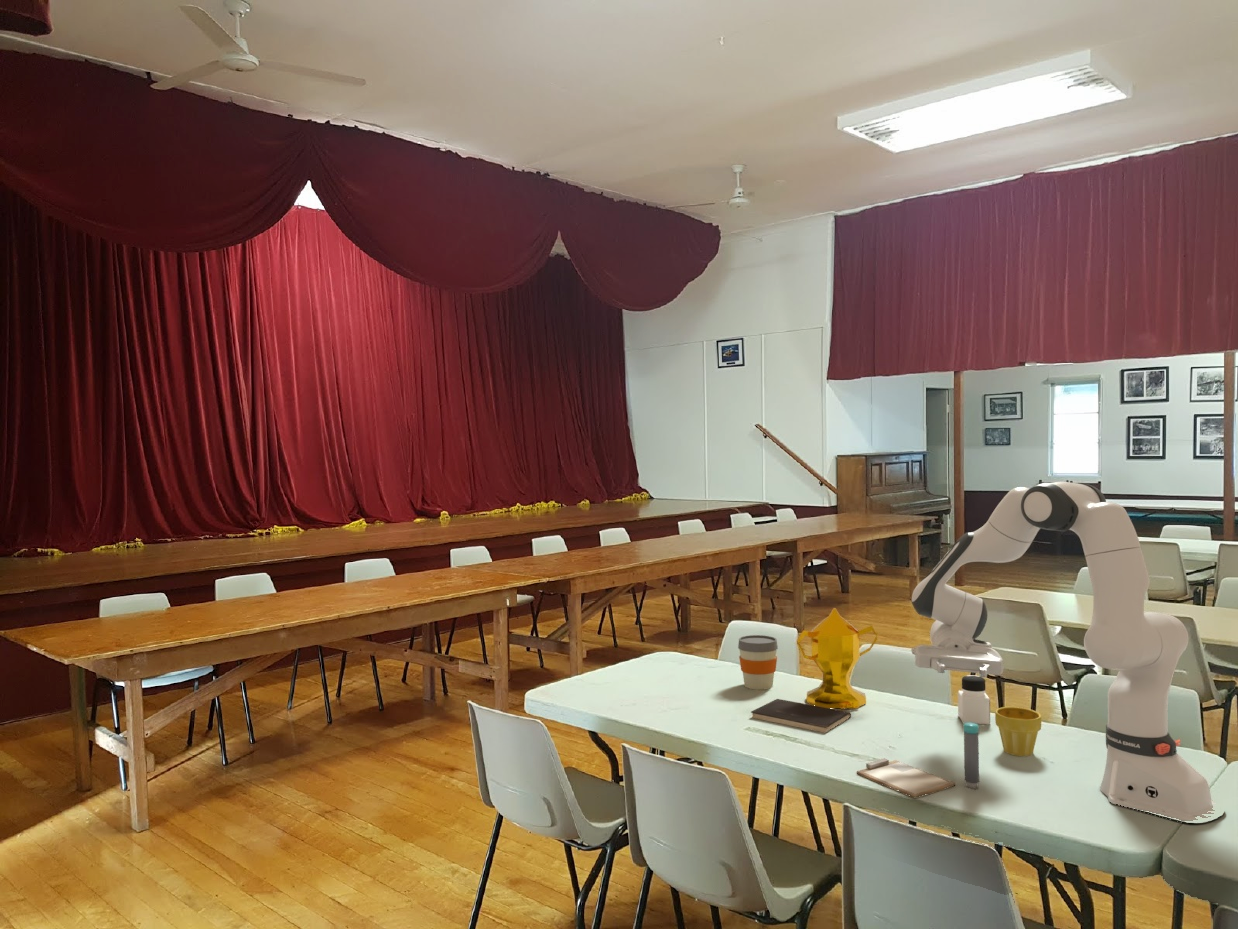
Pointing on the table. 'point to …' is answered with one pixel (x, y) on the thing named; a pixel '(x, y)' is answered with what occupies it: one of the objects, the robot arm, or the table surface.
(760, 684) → the reusable coffee cup
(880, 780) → the clipboard
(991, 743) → the table surface
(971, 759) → the marker
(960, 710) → the medicine bottle
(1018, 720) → the plant pot
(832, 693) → the trophy cup
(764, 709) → the hardcover book
